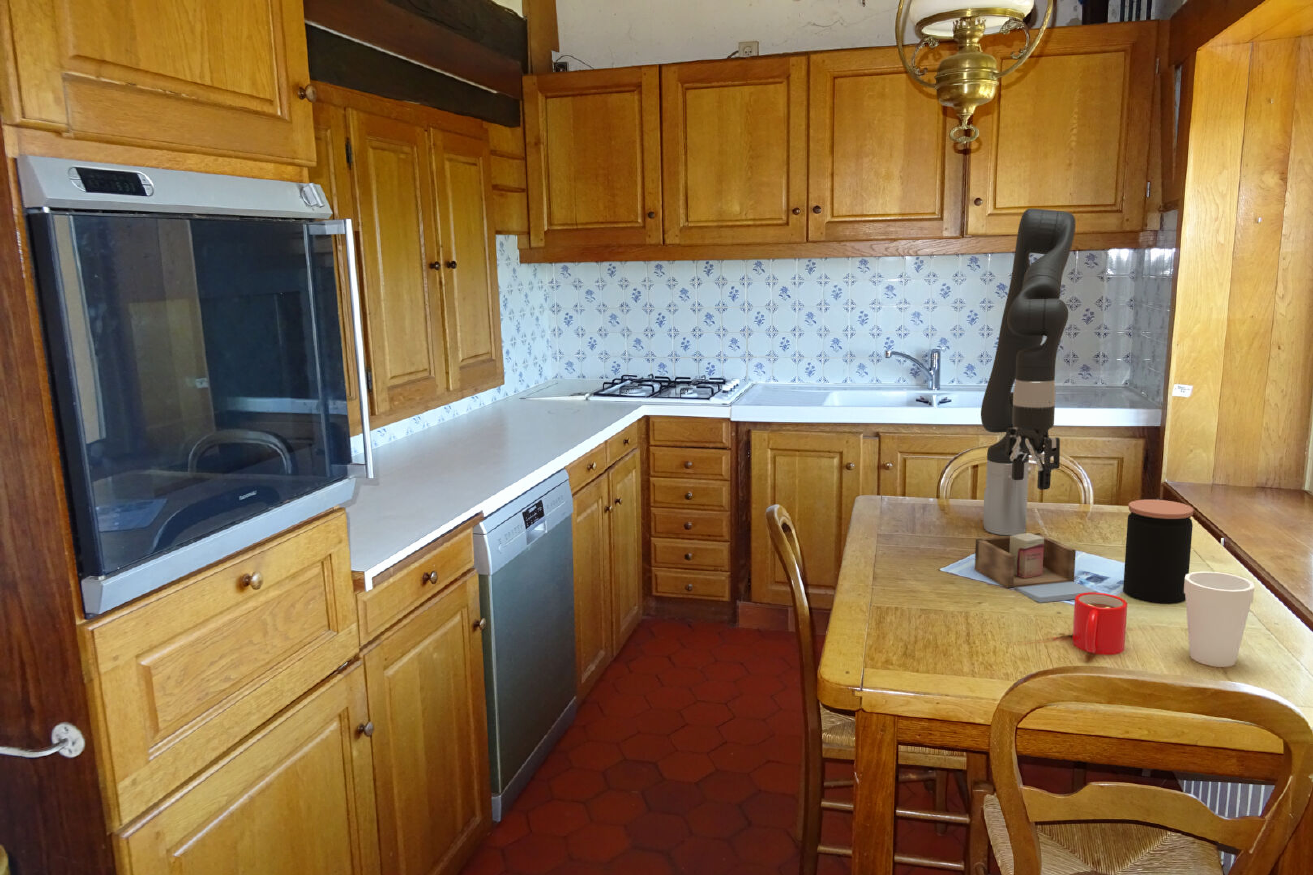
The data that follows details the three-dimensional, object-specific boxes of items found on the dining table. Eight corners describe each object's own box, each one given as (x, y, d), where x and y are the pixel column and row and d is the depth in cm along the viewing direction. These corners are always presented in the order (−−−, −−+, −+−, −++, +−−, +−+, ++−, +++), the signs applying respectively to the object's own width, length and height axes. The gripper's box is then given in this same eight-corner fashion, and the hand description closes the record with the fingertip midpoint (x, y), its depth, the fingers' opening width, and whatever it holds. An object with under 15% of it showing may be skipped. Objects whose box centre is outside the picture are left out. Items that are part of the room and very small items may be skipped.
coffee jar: (1180, 591, 175) (1187, 500, 172) (1192, 611, 165) (1200, 515, 162) (1118, 587, 179) (1124, 497, 176) (1126, 606, 169) (1133, 512, 166)
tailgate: (1013, 586, 177) (1038, 597, 169) (1070, 580, 179) (1098, 590, 171) (1013, 591, 177) (1038, 602, 169) (1070, 585, 179) (1098, 596, 171)
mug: (1063, 657, 148) (1066, 611, 147) (1076, 632, 158) (1079, 589, 157) (1117, 668, 144) (1120, 620, 143) (1127, 641, 154) (1130, 596, 152)
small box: (1023, 579, 180) (1025, 540, 179) (1007, 572, 184) (1009, 535, 183) (1043, 575, 182) (1045, 537, 181) (1027, 569, 186) (1028, 531, 185)
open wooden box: (974, 573, 189) (975, 539, 187) (1037, 567, 192) (1038, 533, 190) (1007, 593, 177) (1009, 556, 176) (1073, 586, 180) (1075, 549, 179)
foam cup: (1183, 666, 144) (1189, 587, 141) (1174, 643, 152) (1179, 569, 150) (1254, 674, 140) (1261, 593, 138) (1240, 650, 149) (1247, 574, 146)
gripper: (1074, 406, 171) (1070, 491, 174) (1029, 397, 184) (1026, 475, 187) (1038, 409, 169) (1034, 494, 172) (995, 399, 183) (992, 478, 186)
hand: (1030, 484), depth 180 cm, fingers open, 8 cm apart
